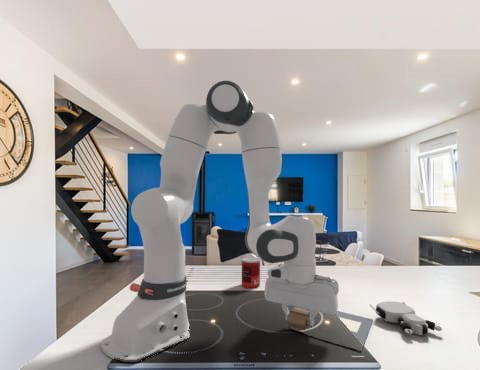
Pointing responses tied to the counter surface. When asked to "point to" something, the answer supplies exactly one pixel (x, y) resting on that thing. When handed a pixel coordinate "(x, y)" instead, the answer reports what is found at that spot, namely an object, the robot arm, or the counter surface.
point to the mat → (356, 325)
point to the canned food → (250, 272)
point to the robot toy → (404, 317)
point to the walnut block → (298, 318)
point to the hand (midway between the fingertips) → (299, 322)
